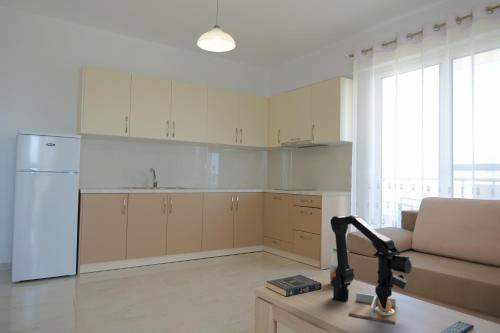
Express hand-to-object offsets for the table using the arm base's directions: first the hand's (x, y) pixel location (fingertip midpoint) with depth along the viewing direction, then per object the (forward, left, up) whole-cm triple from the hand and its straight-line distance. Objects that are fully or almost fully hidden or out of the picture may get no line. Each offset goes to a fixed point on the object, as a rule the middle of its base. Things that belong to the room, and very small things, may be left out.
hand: (384, 305), depth 146 cm
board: (-4, 0, -4) cm, 6 cm away
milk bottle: (-26, +32, -4) cm, 42 cm away
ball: (0, -1, 0) cm, 1 cm away
